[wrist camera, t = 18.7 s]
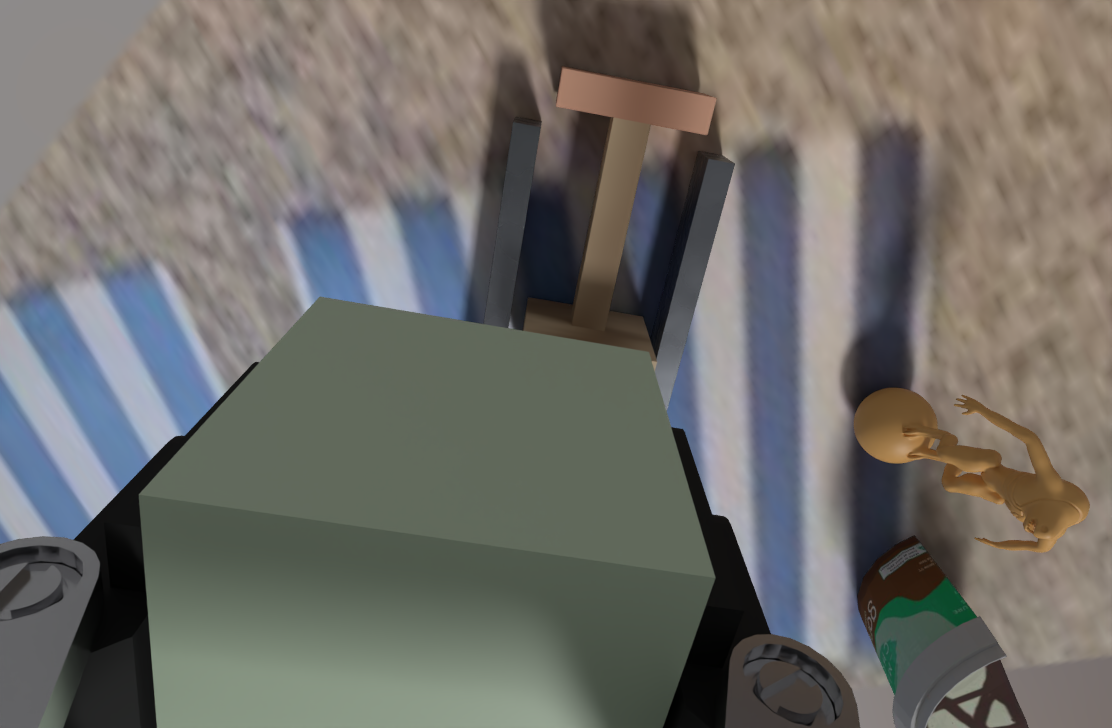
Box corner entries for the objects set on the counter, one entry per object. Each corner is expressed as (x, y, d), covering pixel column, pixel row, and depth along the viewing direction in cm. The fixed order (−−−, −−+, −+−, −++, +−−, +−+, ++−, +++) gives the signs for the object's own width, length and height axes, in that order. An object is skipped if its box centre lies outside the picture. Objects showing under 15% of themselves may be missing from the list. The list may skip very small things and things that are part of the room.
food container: (809, 557, 43) (876, 694, 34) (907, 517, 42) (1003, 648, 33) (874, 684, 48) (949, 835, 39) (964, 651, 47) (1064, 799, 38)
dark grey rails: (476, 384, 38) (471, 405, 36) (516, 116, 33) (513, 122, 30) (653, 412, 39) (660, 435, 37) (722, 155, 34) (734, 163, 31)
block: (308, 559, 13) (167, 856, 8) (319, 296, 10) (139, 495, 6) (585, 598, 13) (600, 903, 8) (648, 352, 11) (715, 578, 6)
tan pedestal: (514, 349, 37) (507, 399, 32) (562, 66, 32) (563, 70, 26) (634, 369, 38) (647, 421, 33) (703, 93, 32) (731, 103, 27)
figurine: (828, 354, 38) (939, 481, 27) (942, 317, 37) (1106, 433, 26) (856, 477, 41) (966, 635, 30) (962, 446, 40) (1115, 597, 29)
